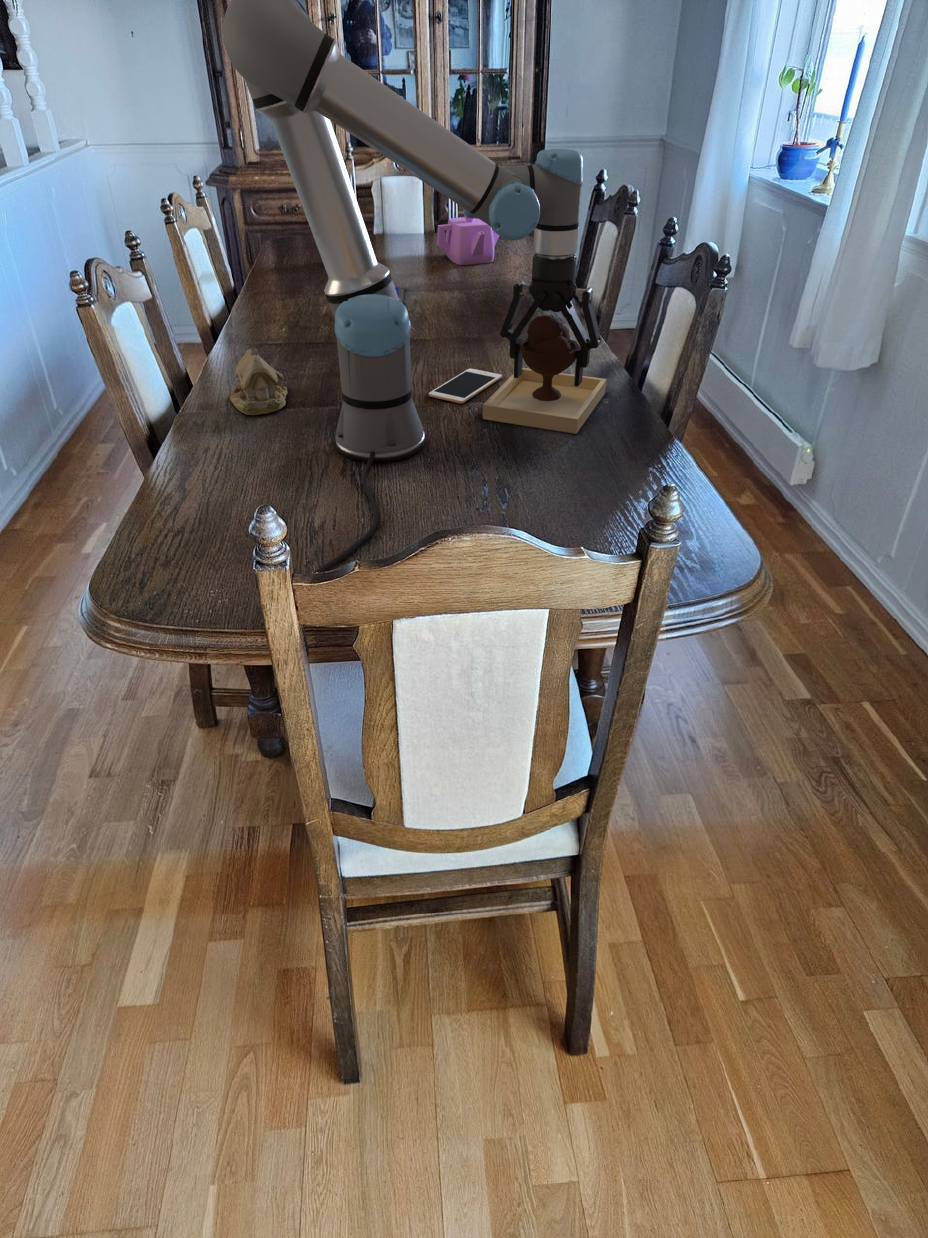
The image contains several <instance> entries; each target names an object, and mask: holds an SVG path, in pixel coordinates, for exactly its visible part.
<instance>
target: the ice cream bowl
mask: <svg viewBox="0 0 928 1238" xmlns="http://www.w3.org/2000/svg"><path fill="white" fill-rule="evenodd" d="M533 318H534V319H532V320H531V321H530V322H529V324H528V325H527V330H526V333H527V338H525V339H523V341H522V342H521V343H519V346H520V352H521V354H522V357H523V362H524V363H525V365H526V366H527V367H528V368H529V369H531V370H533V371H534V372H536V373H538V374H541V375H542V376H543V386H542V387H540V388H538V389H536V390H535V391H533V393H532V396H533V398H535V399H538V400H540V401H554V400H558V399H559V398H560V397H561V393H560V391H559V390H557V389H556V388H554V387H552V378H553V376H554V375H558V374H560V373H564V372H565V371H566V370H567V369H568V368H570V367H571V366H572V365H573V364H574V363H576V355H577V350H578V349H579V348H580V345H579V343H578V341H577V340H575V339H574V340H573V339H571V334H570V329H568V327H567V326H566V325H564V324H563V323H562V322H560V320H559V319H557V318H556V317H555V316H554V315H552V314H541V315H538V316H536V317H533Z"/></svg>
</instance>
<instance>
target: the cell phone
mask: <svg viewBox="0 0 928 1238" xmlns="http://www.w3.org/2000/svg"><path fill="white" fill-rule="evenodd" d="M502 378H503V375H502V374H500V373H495V372H490V371H485V370H481V369H475V368H471V367H470V368H467V369H465V370H464V371H462V372H460V373H459V374H458V375H456V376H454V377H452V378H451V379H449V380H447V381H446V382H444V383H443V384H441V385H439V386H438V387H436V388H434V389H432V390H431V391H429V392H428V397H430V398H435V399H439V400H443V401H448V402H451V403H456V404H464V403H466V402H467V401H469V400H470V399H472V398H473V397H475V396H476V395H478V394H479V393H481V392H482V391H484V390H485V389H487V388H489V387H490V386H492V385H493V384H495V383H496V382H498V381H499V380H501V379H502Z"/></svg>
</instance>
